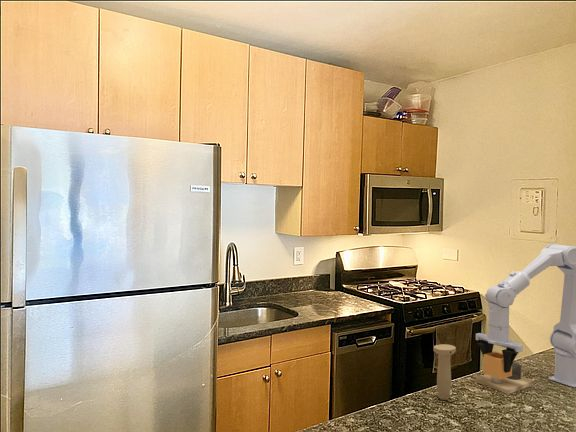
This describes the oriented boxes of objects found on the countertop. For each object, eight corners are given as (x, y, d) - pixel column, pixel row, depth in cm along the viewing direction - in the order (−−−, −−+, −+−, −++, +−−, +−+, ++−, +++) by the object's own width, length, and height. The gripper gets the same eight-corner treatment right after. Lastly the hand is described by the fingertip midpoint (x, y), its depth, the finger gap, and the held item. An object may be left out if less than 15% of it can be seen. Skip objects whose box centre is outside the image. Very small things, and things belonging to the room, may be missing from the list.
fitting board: (501, 373, 150) (502, 357, 150) (534, 384, 141) (534, 368, 141) (475, 381, 143) (475, 365, 143) (508, 394, 134) (508, 376, 133)
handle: (458, 399, 129) (459, 348, 129) (440, 403, 127) (441, 351, 126) (446, 393, 134) (447, 343, 133) (429, 396, 131) (430, 345, 131)
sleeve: (483, 373, 141) (483, 354, 141) (494, 369, 144) (495, 351, 144) (500, 379, 136) (500, 359, 136) (511, 375, 139) (512, 356, 139)
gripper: (470, 321, 143) (469, 363, 144) (513, 333, 131) (512, 378, 131) (483, 318, 147) (482, 359, 147) (527, 329, 135) (525, 374, 135)
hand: (497, 368), depth 140 cm, fingers closed on sleeve, 6 cm apart
